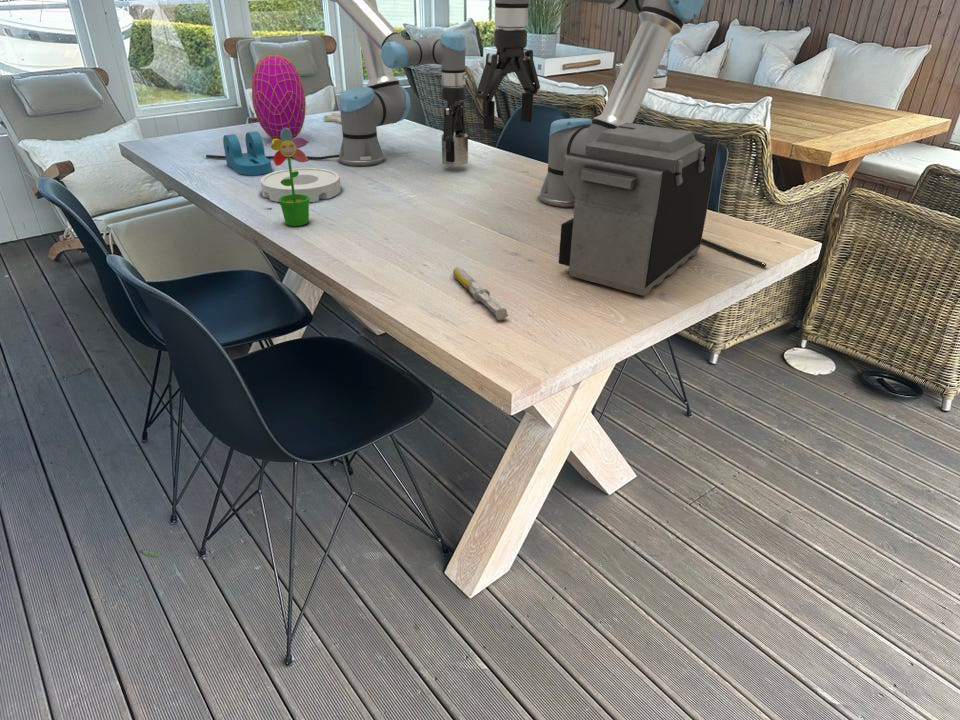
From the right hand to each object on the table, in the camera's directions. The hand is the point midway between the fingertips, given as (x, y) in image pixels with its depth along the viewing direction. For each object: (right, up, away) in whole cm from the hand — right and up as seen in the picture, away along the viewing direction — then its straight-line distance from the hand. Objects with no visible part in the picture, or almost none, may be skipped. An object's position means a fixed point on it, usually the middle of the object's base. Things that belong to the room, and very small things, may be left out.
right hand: (507, 125), depth 166 cm
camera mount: (-83, +7, +63) cm, 105 cm away
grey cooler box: (+29, -34, -5) cm, 45 cm away
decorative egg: (-82, +28, +98) cm, 131 cm away
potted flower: (-55, -20, +17) cm, 62 cm away
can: (-15, +9, +64) cm, 66 cm away
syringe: (-7, -44, -21) cm, 49 cm away
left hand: (-15, +11, +63) cm, 66 cm away
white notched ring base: (-61, -6, +41) cm, 74 cm away
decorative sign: (-66, +45, +128) cm, 151 cm away
